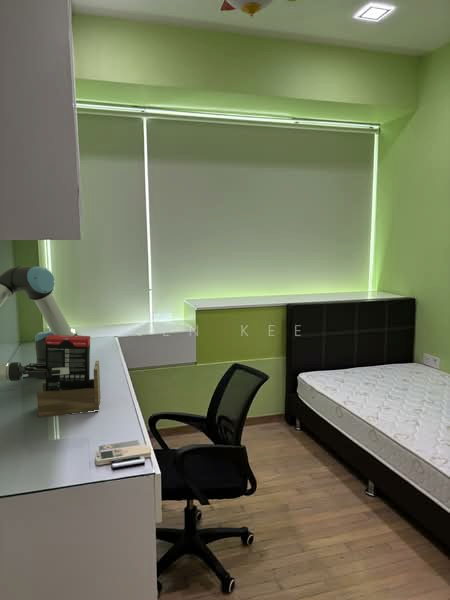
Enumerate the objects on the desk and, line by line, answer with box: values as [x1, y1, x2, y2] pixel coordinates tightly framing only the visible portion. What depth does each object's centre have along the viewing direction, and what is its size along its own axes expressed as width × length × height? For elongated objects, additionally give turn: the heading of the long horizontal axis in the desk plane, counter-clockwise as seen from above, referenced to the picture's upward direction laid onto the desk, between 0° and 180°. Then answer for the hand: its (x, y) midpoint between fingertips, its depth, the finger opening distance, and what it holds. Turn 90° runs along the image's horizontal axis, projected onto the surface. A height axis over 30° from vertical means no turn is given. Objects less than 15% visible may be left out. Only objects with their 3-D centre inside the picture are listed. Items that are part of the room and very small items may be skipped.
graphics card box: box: [45, 335, 91, 391], centre depth 178 cm, size 17×7×27 cm, turn 100°
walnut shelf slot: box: [36, 360, 102, 418], centre depth 180 cm, size 14×23×18 cm, turn 103°
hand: (69, 368), depth 178 cm, fingers closed on graphics card box, 6 cm apart
